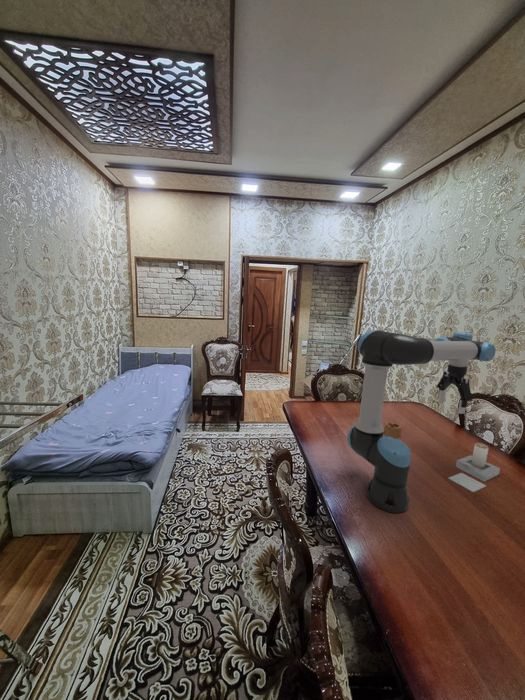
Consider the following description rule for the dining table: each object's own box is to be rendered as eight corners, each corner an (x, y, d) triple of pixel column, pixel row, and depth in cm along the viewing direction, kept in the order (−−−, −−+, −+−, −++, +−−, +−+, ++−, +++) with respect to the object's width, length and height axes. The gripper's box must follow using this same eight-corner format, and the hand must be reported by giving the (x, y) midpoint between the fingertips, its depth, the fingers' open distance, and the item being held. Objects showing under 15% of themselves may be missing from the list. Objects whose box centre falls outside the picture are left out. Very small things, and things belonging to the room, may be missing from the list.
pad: (473, 492, 115) (473, 491, 115) (448, 478, 124) (448, 477, 124) (486, 486, 120) (486, 485, 120) (461, 473, 129) (461, 472, 129)
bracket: (399, 441, 157) (401, 429, 156) (383, 437, 161) (385, 425, 159) (400, 428, 173) (401, 418, 172) (385, 425, 177) (387, 415, 175)
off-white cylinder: (479, 475, 128) (485, 448, 125) (467, 469, 132) (472, 443, 130) (485, 472, 130) (491, 446, 128) (473, 467, 134) (478, 441, 132)
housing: (484, 481, 123) (486, 474, 122) (455, 467, 133) (456, 460, 133) (498, 475, 128) (500, 468, 128) (469, 461, 139) (471, 455, 138)
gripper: (487, 372, 121) (478, 418, 125) (447, 359, 146) (440, 399, 149) (470, 371, 121) (462, 418, 125) (433, 359, 145) (426, 398, 149)
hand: (450, 408), depth 137 cm, fingers open, 13 cm apart
